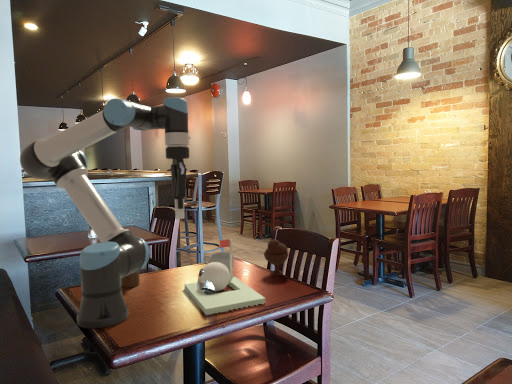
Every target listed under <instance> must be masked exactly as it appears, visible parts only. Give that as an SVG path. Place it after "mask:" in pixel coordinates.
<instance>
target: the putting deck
mask: <svg viewBox="0 0 512 384" xmlns="http://www.w3.org/2000/svg"><path fill="white" fill-rule="evenodd" d="M232 240H233V239H232V238H229V239H219V248H221V249H223V248H229V253H230V272H229V273H230V280H229V283H228V284H227V286H229V287H231V288H232V289H233V290H229V291H228V290H227V291H223V292H218V293H211V294H206V293H205V292H204V291H203V289H200V288H197V282H198V281H197V282H190V283H184V287H183V288H184V290H185V292H186V293H187V294H188V295H189V297H191V299H192V300H193V302H195V304H196V305H197V306H198V307H199V309H200V310H201V311H202V312H203V313H204V315H205V316H209V315H215V314H218V313H219V312H220V313H226V312H230V311H229V310H231V311H234V310H233V309H236V310H239V309H238V308H241V309H244V308H243V307H246V308H249V307H248V306H251V307H255V306H254V305H256V306H259V305H258V304H262V305H265V304H266V297H265V296H264V295H261V294H260V293H259V292H258V291H256V290H255V289H254V288H252V287H250V286H249V285H248V284H246V283H245V282H243V281H242V280H241V279H240V278H238V277H236V276H234V273H233V272H234V271H233V269H234V263H233V264H232V254H233V241H232ZM234 289H235V290H234ZM264 303H265V304H264ZM214 313H215V314H214Z"/></svg>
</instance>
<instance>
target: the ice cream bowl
mask: <svg viewBox="0 0 512 384" xmlns="http://www.w3.org/2000/svg"><path fill="white" fill-rule="evenodd" d="M289 253H290V252H289V251H288V248H287V246H286V244H285V243H282V242H280V241H279V240H278V239H276V238H274V239H271V240H269V241H268V243H267V248H266V249H265V251H263V256H264V259H265V260H266V261H267V262H268V263H269V264H272V265H273V266H274V269H273V270H272V271H271V272H270V275H271V276H274V275H279V276H282V275H283V274H284V273H283V272H282V271H281V270H280V269H279V267H280V265H282V264H283V263H285V262H286V261H288V258H289Z"/></svg>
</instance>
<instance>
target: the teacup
mask: <svg viewBox="0 0 512 384" xmlns="http://www.w3.org/2000/svg"><path fill="white" fill-rule="evenodd" d="M207 258H208V259H209V261H207ZM202 260H203V262H204V264H205V265H207V264H209V263H211V262H220V263H222V264H224V265H225V266H226V267H227V268H228V270H229V273H230V251H219V252H214V253H211V254H205V255H204V256H203V259H202ZM232 264H233V265H234V254H233V253H232Z"/></svg>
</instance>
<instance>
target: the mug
mask: <svg viewBox="0 0 512 384" xmlns="http://www.w3.org/2000/svg"><path fill="white" fill-rule="evenodd" d="M139 285H140V270H139V271H137V272H135V273H132V274H130V275H128V276H126V277H123V278H121V288H122V289H123V288H125V289H127V288H128V289H129V288H135V287H137V286H139Z"/></svg>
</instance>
